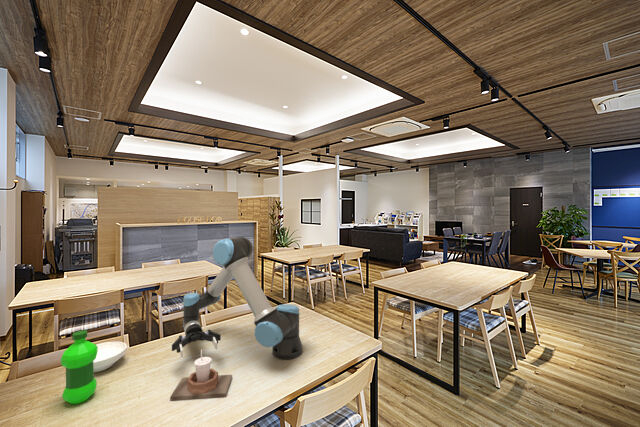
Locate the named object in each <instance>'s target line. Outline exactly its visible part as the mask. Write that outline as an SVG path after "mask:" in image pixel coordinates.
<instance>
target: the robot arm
mask: <svg viewBox="0 0 640 427" xmlns="http://www.w3.org/2000/svg"><path fill="white" fill-rule="evenodd" d="M253 254H254V245H253V243H252V241H251V240H250V239H248V238H247V237H244V236H238V237H232V238H231V237H230V238H224V239H221V240H219V241H217V242H216V243H215V245H214V246H213V250H212V257H213V260H214V262H215V263H216V264H217V265H220V266H223V267H222V268H221V270H220V271H219V272H218V274H217V275H216V277H215V278H214V279H213V281H212V282H211V284H210V285H209V287H208V288H207V289H206V290H205V291H204V292H203V293H200V294H199V293H197V292H190V293H186V294H185V295H184V296H183V300H182V306H183V311H182V312H183V320H182V328H183V331H184V334H185V336H182V334H181V335H179V336H178V337H177V339H176V340H175V341H174V342H173V343H172V344H171V351H172V352H174V351H176V353H179V354H180V358H184V349H183V348H185V346H187V345H190V344H191V343H194V342H197V341H201V342H204V341H207V342H212V345H213V347H214V349H215V350H218V344H219V341H221V340H222V339H221V334H220V333H218V332H215V331H213V330H211V329H207V331H203V328H202V326H201V324H200V310H202V309H204V308H206V307H209V306H211V305H215V304H216V303H218V302H219V301H220V300H221V298H222V297H221V296H222V295H221V294H222V293H223V291H224V290H225V289H226V287H227V286H228V285H229V284H230V282H231V281H232V279H234V281H235V283H236V284H237V286H238V289H239V290H240V292H241V294H242V296H243V297H244V300H245V301H246V303H247V305H248V307H249V309H250V311H251V313H252V314H253V316H254V320H253V324H254V326H255V328H254V337H255V340H256V341H257V342H258V343H259V345H261V346H262V347H266V348H272V350H271V351H272V352H271V354H272V356H274V357H275V358H277V359H281V360H293V359H296V358H298V357H300V356H301V355H302V354H303V352H304V351H303V347H304V346H303V344H302V341H301V340H302V339H301V337H300V315H301V313H300V308H299V306H298V305H295V304H290V303H286V304H279V305H276V307H274V306H272V304H271V303H270V302H269V299H268V298H267V296H266V293H264V291H263V289H262V287H261V285H260V283H259V282H258V279H257V278H256V275H255V274H254V272H253V270H252V268H251V267H250V266H249V263H248V261H249V259H250V258H251V257H252V255H253Z"/></svg>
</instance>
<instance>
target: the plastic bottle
mask: <svg viewBox="0 0 640 427" xmlns="http://www.w3.org/2000/svg"><path fill="white" fill-rule="evenodd" d="M87 337H88V330H85V329H84V330H79V331H75V332H73V333H72V336H71V338H72V341H73V343H72V344H71V345H69V346H68V348H67V349H65V350H64V351H63V353H62V356H61V358H60V364H61V366H62V367H64V368H65V387H64V390H63V392H62V396H61V397H62V399H63V401H64V402H67V403H69V404H72V405H78V404H81V403H83V402H85V401H87V400H88V399H89V398H90V397H91V396H92V395H93V394H94V393H95V391H96V389H97V385H98V384H97V382H98V381H97V379H96V378H95V376H94V374H95V372H94V368H93V361H94V360H95V359H96V356H97V352H98V347H97V346H96V344H95V343H93V342H91V341H89V340H86V338H87Z"/></svg>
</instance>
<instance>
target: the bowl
mask: <svg viewBox="0 0 640 427" xmlns="http://www.w3.org/2000/svg"><path fill="white" fill-rule="evenodd" d="M95 345H96V346H97V347H98V352H97V356H96V359H95V360H94V361H93V368H94V373H98V372H99V373H100V372H102V371H105V370H107V369H108V368H110V367H112V366H113V365H114V364H115V363H116V362H117V361H118V360H120V359H121V358H122V357H124V355H125V354H126V352H127V346H128V345H127V343H125V342H122V341H106V342H101V343H96V344H95Z"/></svg>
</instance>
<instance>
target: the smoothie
mask: <svg viewBox="0 0 640 427" xmlns="http://www.w3.org/2000/svg"><path fill="white" fill-rule="evenodd" d="M211 365H212V358H211V357H210V356H203V349H200V357H198V358H196V359H195V360H194V369H195V372H196V375H197V382H198V383H205V382H207V381H209V373H210V369H211Z"/></svg>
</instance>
